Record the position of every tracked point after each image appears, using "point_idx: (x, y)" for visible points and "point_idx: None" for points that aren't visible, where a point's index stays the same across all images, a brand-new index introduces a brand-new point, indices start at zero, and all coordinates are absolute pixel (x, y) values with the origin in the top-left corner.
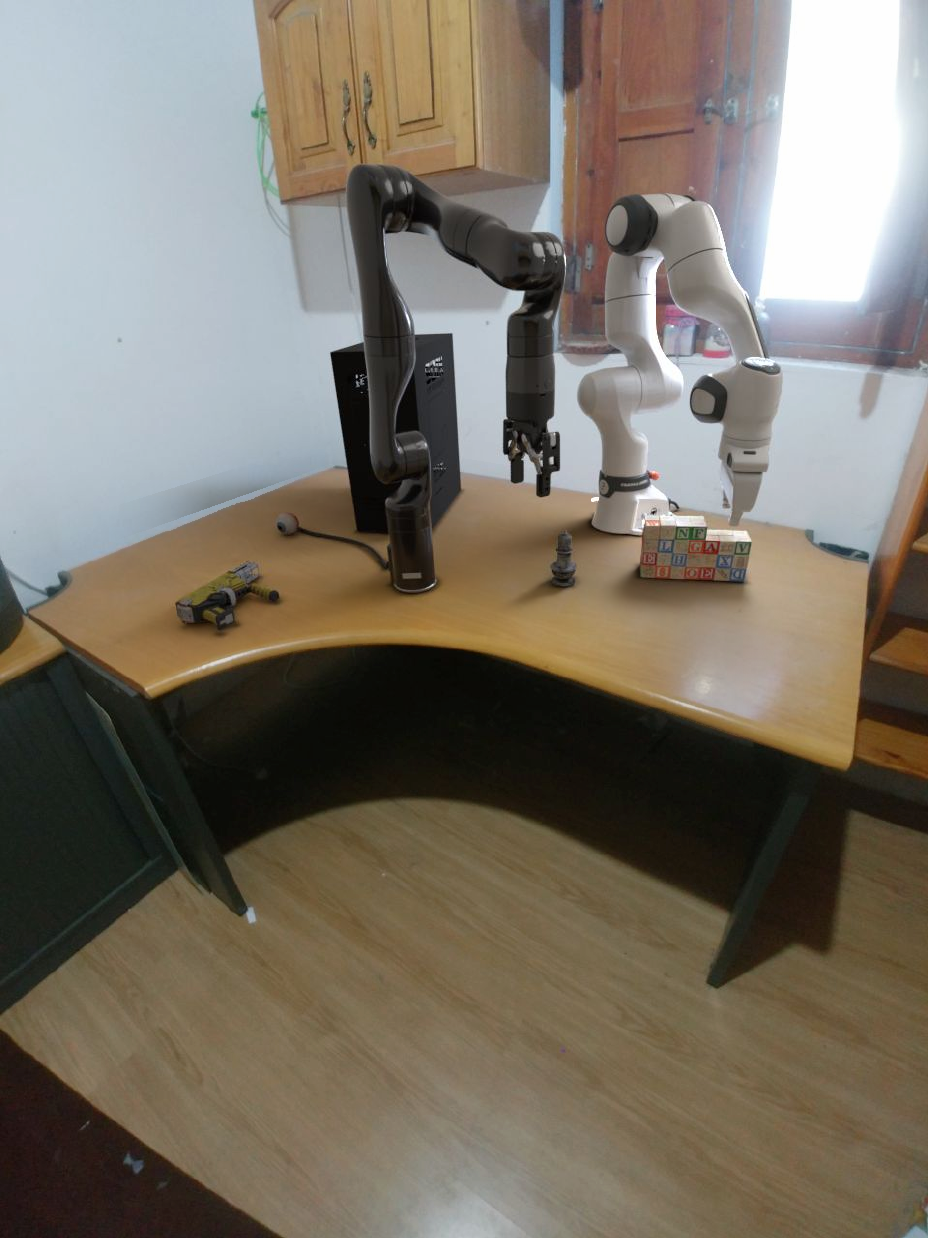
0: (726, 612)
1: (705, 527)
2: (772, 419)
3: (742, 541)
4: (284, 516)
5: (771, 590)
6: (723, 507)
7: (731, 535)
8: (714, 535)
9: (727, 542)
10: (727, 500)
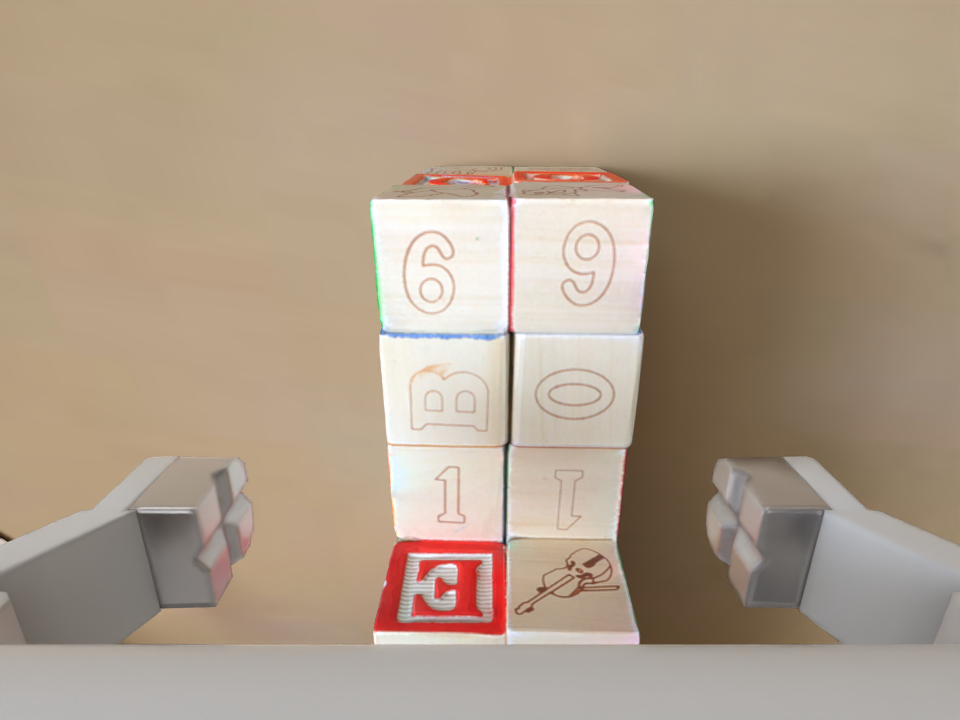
0: (941, 313)
1: (637, 639)
2: None
3: (645, 281)
4: None
5: (700, 9)
6: (253, 529)
7: (506, 350)
8: (510, 471)
9: (636, 393)
10: (206, 567)
